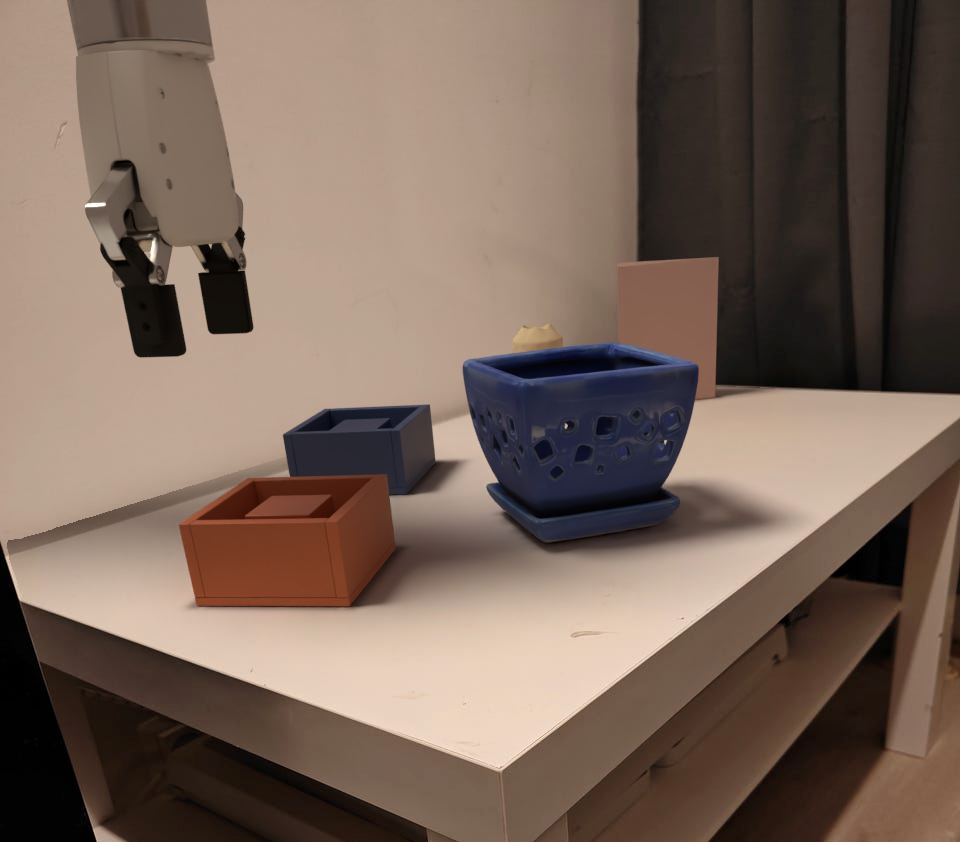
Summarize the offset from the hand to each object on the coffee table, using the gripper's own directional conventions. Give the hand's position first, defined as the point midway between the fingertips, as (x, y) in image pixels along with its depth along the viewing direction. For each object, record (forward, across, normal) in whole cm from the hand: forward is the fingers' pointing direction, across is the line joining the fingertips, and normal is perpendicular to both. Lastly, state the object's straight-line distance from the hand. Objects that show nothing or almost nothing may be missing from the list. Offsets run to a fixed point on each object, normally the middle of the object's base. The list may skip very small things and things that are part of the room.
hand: (198, 343), depth 61 cm
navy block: (+15, -23, +2) cm, 27 cm away
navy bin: (+16, -23, +2) cm, 28 cm away
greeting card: (+15, -53, +28) cm, 62 cm away
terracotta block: (+15, +2, +6) cm, 16 cm away
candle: (+16, -47, +15) cm, 52 cm away
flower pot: (+15, -10, +24) cm, 30 cm away
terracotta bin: (+15, +2, +6) cm, 16 cm away
